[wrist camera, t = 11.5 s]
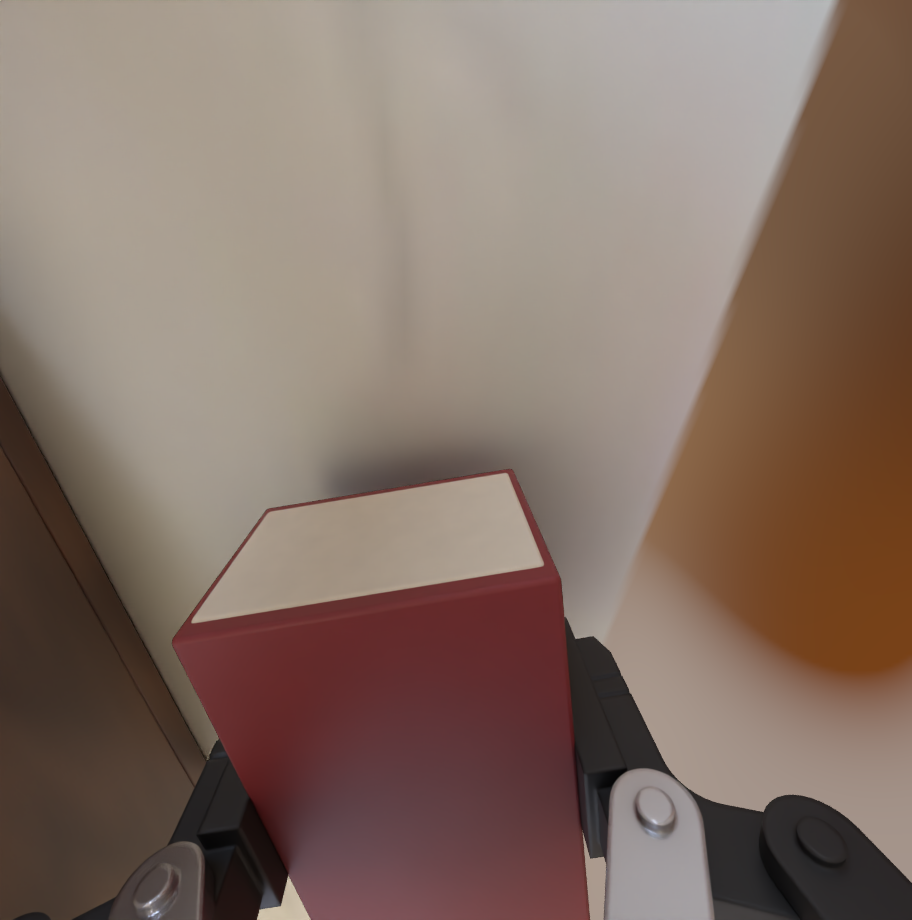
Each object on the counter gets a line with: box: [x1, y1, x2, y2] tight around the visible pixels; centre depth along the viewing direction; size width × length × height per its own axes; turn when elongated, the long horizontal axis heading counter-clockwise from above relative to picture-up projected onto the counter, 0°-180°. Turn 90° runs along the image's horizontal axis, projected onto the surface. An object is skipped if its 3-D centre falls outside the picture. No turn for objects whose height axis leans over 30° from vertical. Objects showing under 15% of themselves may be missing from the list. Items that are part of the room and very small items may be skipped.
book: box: [172, 469, 590, 920], centre depth 10 cm, size 9×6×4 cm, turn 9°
